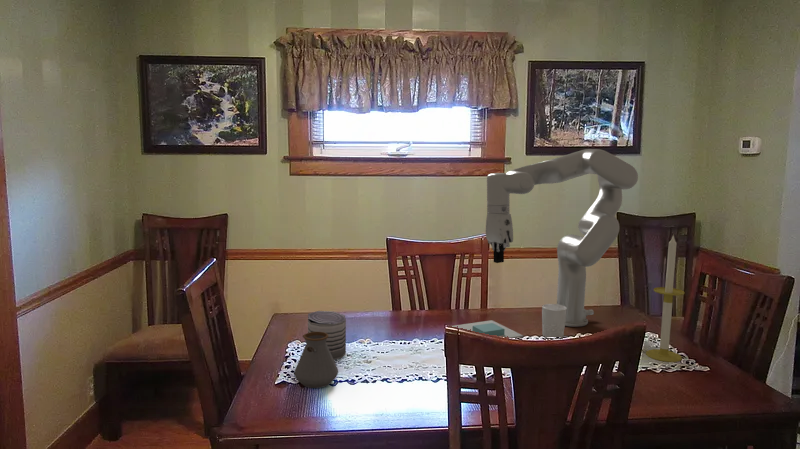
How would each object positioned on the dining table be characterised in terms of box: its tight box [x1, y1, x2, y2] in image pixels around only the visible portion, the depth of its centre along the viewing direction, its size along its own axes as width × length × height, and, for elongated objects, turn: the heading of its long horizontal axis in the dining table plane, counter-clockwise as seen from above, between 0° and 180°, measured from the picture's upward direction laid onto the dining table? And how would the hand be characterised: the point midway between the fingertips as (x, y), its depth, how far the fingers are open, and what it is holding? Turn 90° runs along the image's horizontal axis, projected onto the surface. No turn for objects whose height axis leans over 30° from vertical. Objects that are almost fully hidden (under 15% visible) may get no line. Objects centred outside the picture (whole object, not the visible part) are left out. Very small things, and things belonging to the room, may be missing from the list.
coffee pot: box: [293, 332, 339, 389], centre depth 147 cm, size 21×12×15 cm, turn 1°
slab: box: [472, 323, 505, 336], centre depth 192 cm, size 8×2×7 cm
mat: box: [451, 319, 524, 339], centre depth 194 cm, size 19×18×1 cm
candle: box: [645, 233, 685, 363], centre depth 172 cm, size 10×10×38 cm
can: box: [307, 310, 347, 361], centre depth 172 cm, size 11×11×12 cm
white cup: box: [541, 303, 567, 340], centre depth 191 cm, size 8×8×10 cm
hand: (498, 262), depth 199 cm, fingers closed
